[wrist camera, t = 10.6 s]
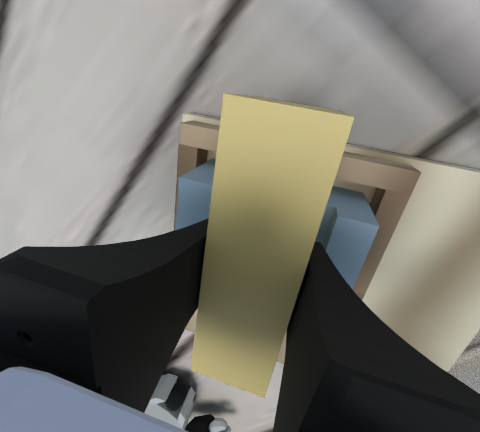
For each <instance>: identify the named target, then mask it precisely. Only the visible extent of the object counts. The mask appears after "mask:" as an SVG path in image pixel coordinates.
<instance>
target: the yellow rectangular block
mask: <svg viewBox="0 0 480 432" xmlns="http://www.w3.org/2000/svg"><path fill="white" fill-rule="evenodd" d="M354 118H355V117H353V116H351V115H348V114H346V113H344V112H342V111H337V110H331V109H326V108H320V107H314V106H309V105H303V104H297V103H292V102H286V101H281V100H275V99H269V98H264V97H258V96H247V95H235V94H223V103H222V111H221V120H220V128H219V136H218V145H217V153H216V161H215V170H214V178H213V186H212V195H211V203H210V212H209V220H208V228H207V237H206V245H205V253H204V262H203V270H202V278H201V287H200V295H199V304H198V312H197V320H196V329H195V337H194V345H193V354H192V362H191V370H192V371H195V372H197V373H200V374H203V375H205V376H208V377H211V378H213V379H216V380H219V381H221V382H224V383H226V384H229V385H232V386H234V387H237V388H240V389H242V390H245V391H248V392H250V393H253V394H256V395H258V396H261V397H264V398H265V395H266V392H267V389H268V386H269V383H270V379H271V376H272V373H273V370H274V367H275V364H276V361H277V358H278V355H279V351H280V348H281V345H282V342H283V339H284V336H285V333H286V330H287V327H288V323H289V320H290V317H291V314H292V311H293V308H294V305H295V302H296V299H297V295H298V292H299V289H300V286H301V283H302V280H303V277H304V274H305V271H306V267H307V264H308V261H309V258H310V255H311V252H312V249H313V246H314V243H315V239H316V236H317V233H318V230H319V227H320V224H321V221H322V218H323V215H324V211H325V208H326V205H327V202H328V199H329V196H330V193H331V190H332V187H333V183H334V180H335V177H336V174H337V171H338V168H339V165H340V162H341V159H342V155H343V152H344V149H345V146H346V143H347V140H348V137H349V134H350V131H351V127H352V124H353V121H354Z"/></svg>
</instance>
